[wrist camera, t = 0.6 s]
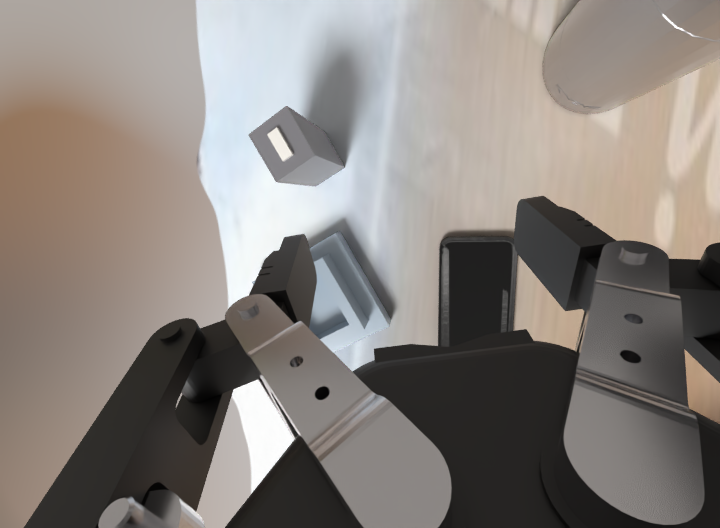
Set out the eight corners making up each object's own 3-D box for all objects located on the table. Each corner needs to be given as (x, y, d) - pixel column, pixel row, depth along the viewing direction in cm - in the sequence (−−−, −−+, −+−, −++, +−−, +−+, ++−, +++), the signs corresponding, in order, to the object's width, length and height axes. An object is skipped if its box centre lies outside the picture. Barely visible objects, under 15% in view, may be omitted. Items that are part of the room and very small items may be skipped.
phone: (438, 366, 37) (439, 237, 34) (437, 362, 38) (439, 236, 35) (511, 371, 35) (519, 236, 32) (508, 366, 36) (516, 235, 33)
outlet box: (260, 278, 40) (240, 287, 35) (339, 231, 36) (328, 235, 32) (309, 358, 40) (295, 377, 36) (391, 319, 37) (386, 335, 33)
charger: (295, 151, 36) (246, 133, 26) (324, 131, 34) (285, 104, 25) (315, 186, 36) (274, 182, 26) (344, 167, 35) (313, 154, 25)
